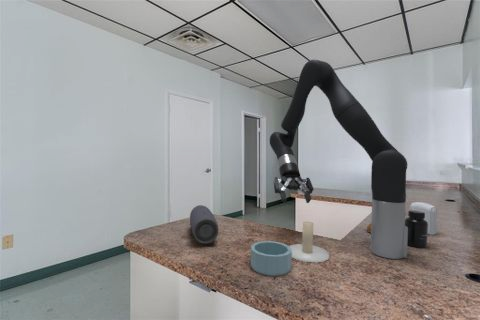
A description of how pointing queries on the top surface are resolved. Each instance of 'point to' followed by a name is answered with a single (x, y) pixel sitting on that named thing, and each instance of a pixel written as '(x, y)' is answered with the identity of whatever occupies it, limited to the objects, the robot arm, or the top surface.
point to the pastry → (369, 228)
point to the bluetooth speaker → (203, 224)
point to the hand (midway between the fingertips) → (297, 201)
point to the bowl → (271, 258)
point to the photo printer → (427, 215)
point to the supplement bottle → (417, 229)
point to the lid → (308, 247)
